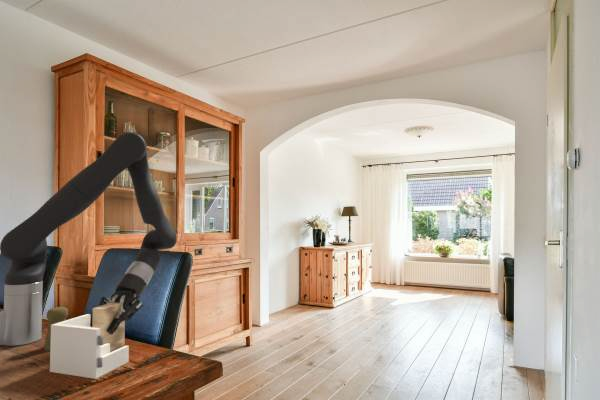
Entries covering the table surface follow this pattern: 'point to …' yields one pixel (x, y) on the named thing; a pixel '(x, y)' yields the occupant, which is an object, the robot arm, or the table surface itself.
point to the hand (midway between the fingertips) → (103, 331)
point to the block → (103, 320)
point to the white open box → (82, 349)
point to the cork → (54, 322)
